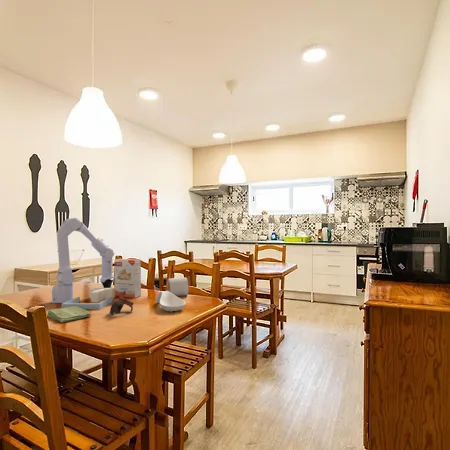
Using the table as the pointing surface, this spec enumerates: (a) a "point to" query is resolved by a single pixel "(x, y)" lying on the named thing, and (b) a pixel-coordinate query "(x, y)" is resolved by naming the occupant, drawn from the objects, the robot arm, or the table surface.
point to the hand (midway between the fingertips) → (107, 292)
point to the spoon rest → (169, 301)
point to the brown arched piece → (120, 305)
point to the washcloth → (68, 314)
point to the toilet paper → (178, 286)
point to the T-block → (101, 294)
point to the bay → (87, 304)
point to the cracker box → (128, 278)
